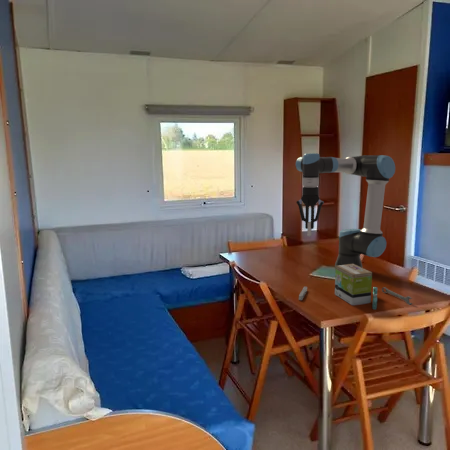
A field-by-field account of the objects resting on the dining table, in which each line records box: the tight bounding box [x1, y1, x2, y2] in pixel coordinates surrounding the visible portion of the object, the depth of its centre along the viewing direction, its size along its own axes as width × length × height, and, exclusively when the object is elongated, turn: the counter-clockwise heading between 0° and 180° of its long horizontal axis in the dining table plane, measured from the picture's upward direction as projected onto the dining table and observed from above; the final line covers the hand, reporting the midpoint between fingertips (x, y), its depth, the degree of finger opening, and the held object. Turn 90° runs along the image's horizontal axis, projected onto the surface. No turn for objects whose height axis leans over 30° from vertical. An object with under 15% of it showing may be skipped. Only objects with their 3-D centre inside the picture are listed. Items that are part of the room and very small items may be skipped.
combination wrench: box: [381, 286, 414, 306], centre depth 193 cm, size 4×1×20 cm
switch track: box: [298, 286, 379, 310], centre depth 193 cm, size 16×34×5 cm, turn 70°
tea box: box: [334, 264, 373, 306], centre depth 192 cm, size 15×10×15 cm, turn 17°
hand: (309, 235), depth 202 cm, fingers closed
